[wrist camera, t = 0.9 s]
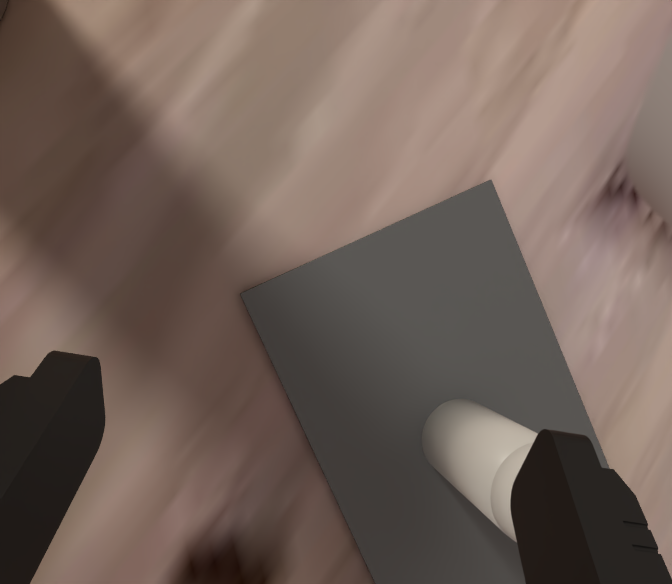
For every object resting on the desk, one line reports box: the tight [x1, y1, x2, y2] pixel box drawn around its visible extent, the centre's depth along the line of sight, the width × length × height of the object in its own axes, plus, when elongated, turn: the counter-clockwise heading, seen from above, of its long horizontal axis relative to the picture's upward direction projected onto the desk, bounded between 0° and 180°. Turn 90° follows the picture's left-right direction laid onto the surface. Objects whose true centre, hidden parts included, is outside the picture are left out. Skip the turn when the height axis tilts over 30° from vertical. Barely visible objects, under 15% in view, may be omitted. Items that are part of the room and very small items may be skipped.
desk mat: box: [240, 180, 610, 584], centre depth 35 cm, size 24×16×1 cm, turn 24°
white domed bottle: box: [422, 399, 538, 542], centre depth 28 cm, size 5×5×12 cm
